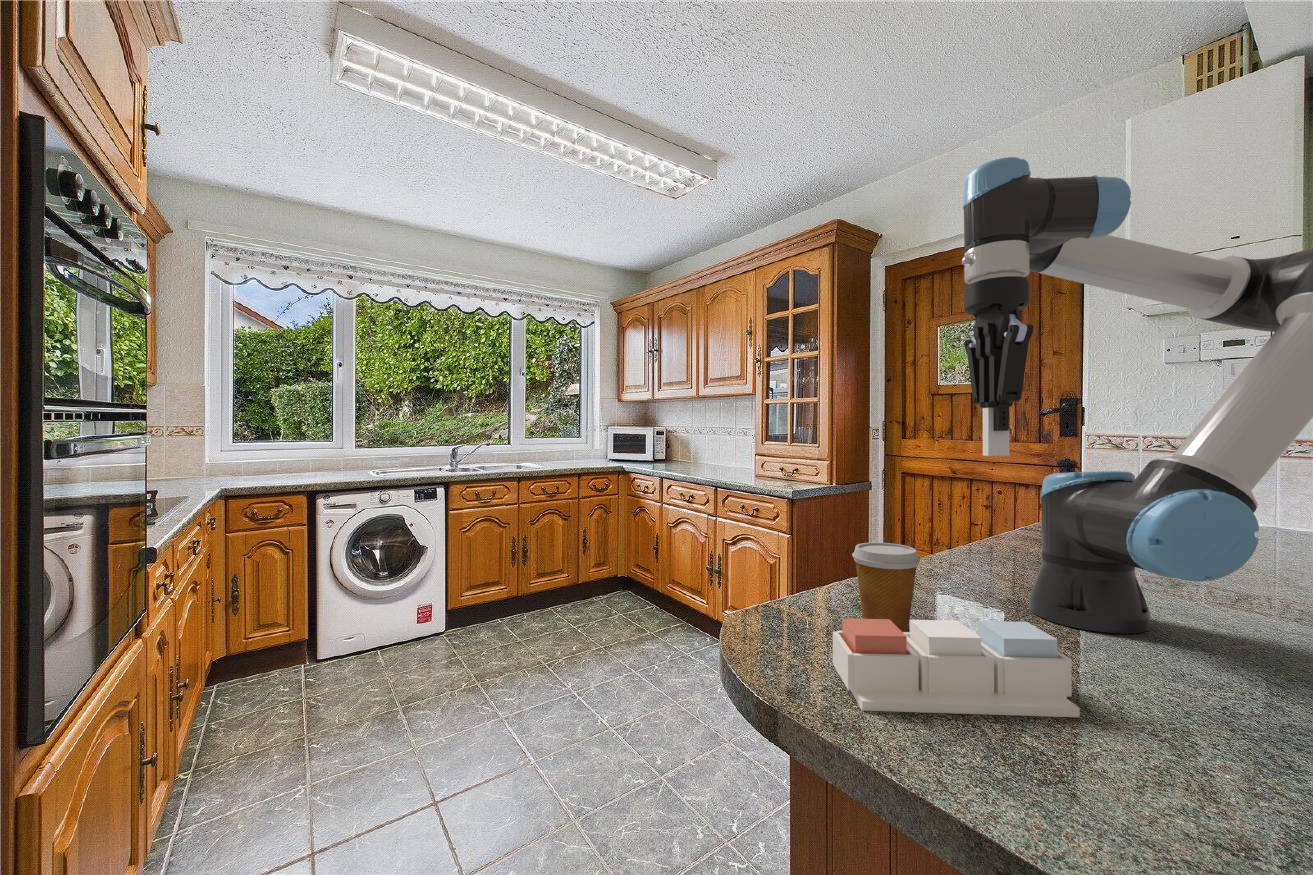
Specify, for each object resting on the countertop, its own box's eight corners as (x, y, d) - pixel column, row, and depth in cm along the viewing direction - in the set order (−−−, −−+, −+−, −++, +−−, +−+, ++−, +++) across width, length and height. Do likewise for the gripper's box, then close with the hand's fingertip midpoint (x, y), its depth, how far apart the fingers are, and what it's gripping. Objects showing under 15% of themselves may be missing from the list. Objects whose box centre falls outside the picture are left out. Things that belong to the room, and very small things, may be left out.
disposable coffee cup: (928, 640, 78) (927, 556, 78) (857, 636, 80) (857, 553, 80) (911, 618, 87) (910, 543, 87) (848, 614, 89) (848, 541, 89)
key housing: (1020, 668, 69) (1020, 628, 69) (1087, 717, 57) (1087, 669, 57) (828, 663, 71) (827, 624, 71) (854, 710, 59) (854, 663, 59)
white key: (957, 653, 66) (957, 620, 66) (981, 674, 61) (981, 638, 61) (909, 652, 67) (909, 619, 67) (929, 672, 61) (928, 636, 61)
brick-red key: (889, 652, 67) (889, 619, 67) (906, 672, 61) (906, 636, 61) (842, 650, 67) (842, 618, 67) (855, 670, 62) (855, 635, 62)
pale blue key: (1027, 655, 66) (1026, 621, 66) (1057, 676, 60) (1057, 639, 60) (978, 654, 66) (978, 621, 66) (1004, 674, 60) (1004, 638, 60)
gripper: (945, 294, 81) (945, 453, 81) (992, 268, 68) (992, 458, 68) (998, 292, 80) (998, 453, 81) (1056, 266, 67) (1056, 457, 68)
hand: (995, 455), depth 74 cm, fingers closed
